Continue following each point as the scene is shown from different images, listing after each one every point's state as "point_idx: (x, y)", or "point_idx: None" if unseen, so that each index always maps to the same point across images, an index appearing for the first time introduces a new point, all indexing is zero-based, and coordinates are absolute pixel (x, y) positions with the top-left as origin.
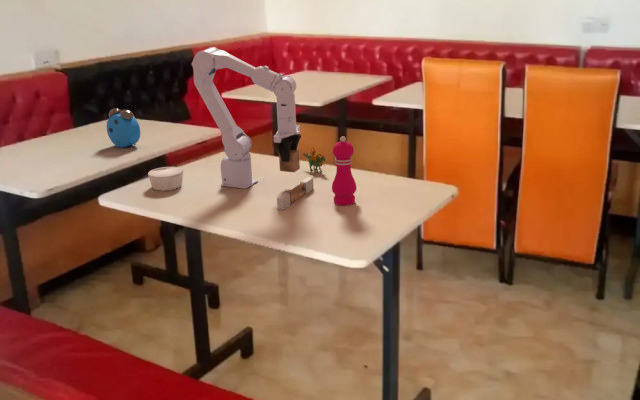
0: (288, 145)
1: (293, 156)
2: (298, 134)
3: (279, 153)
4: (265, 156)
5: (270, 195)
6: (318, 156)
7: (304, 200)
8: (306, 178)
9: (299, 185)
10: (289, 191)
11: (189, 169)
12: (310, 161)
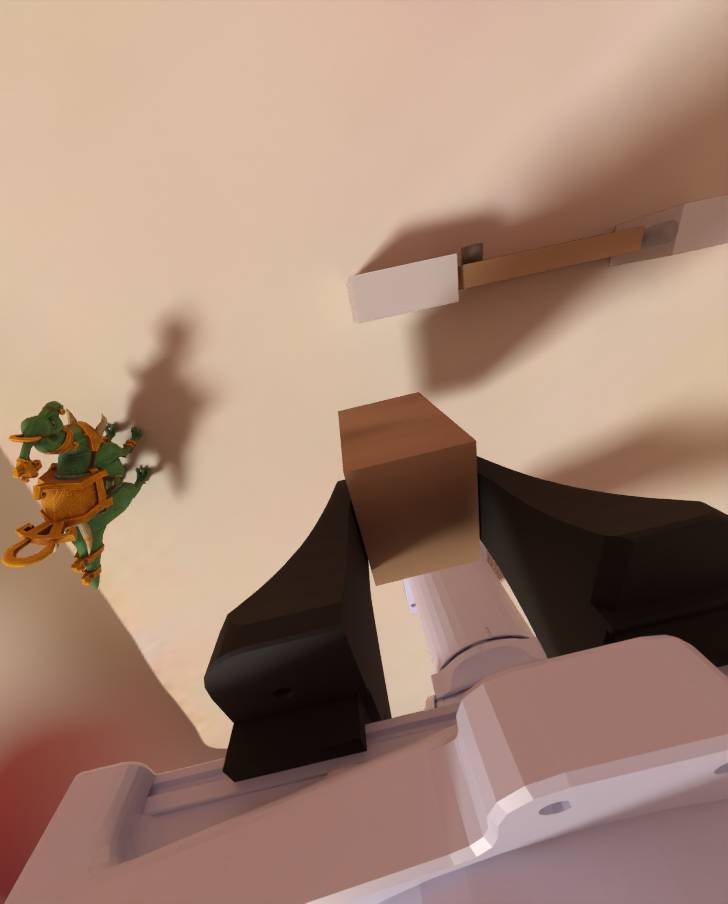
0: (656, 499)
1: (461, 431)
2: (241, 691)
3: (477, 551)
4: (170, 681)
5: (514, 407)
6: (47, 481)
7: (532, 196)
8: (383, 310)
9: (509, 265)
10: (628, 247)
11: (399, 711)
12: (121, 499)
